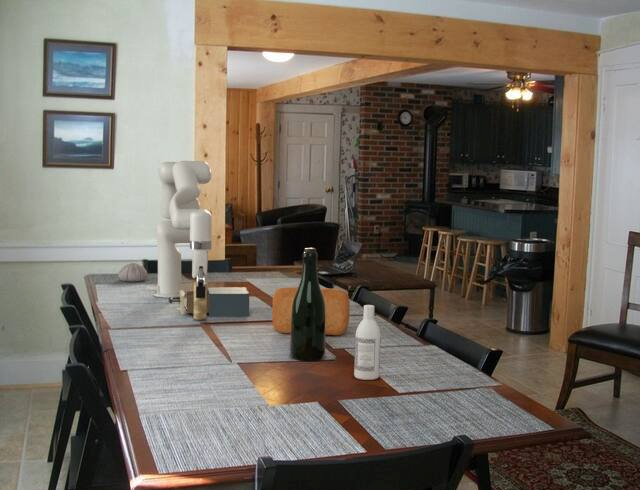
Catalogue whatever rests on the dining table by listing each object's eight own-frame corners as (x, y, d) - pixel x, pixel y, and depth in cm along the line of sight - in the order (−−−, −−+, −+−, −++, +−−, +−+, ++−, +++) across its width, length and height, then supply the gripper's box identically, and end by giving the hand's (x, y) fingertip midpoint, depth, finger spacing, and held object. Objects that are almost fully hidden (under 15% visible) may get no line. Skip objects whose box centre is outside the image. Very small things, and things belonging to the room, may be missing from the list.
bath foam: (365, 372, 225) (367, 302, 222) (384, 377, 221) (387, 306, 218) (348, 377, 220) (351, 305, 217) (368, 382, 215) (370, 309, 213)
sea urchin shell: (143, 283, 366) (143, 265, 365) (113, 282, 366) (113, 264, 365) (151, 278, 379) (151, 262, 378) (122, 277, 379) (122, 261, 378)
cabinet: (209, 316, 295) (209, 293, 294) (207, 309, 309) (207, 287, 308) (249, 316, 299) (249, 293, 298) (245, 308, 313) (245, 287, 312)
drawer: (169, 314, 292) (169, 296, 291) (168, 307, 305) (168, 290, 304) (218, 313, 296) (218, 295, 296) (215, 307, 309) (216, 289, 308)
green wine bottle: (310, 363, 233) (313, 250, 228) (282, 357, 239) (285, 247, 234) (331, 356, 242) (335, 248, 237) (304, 351, 247) (307, 245, 243)
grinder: (193, 319, 285) (194, 283, 283) (193, 317, 289) (193, 281, 288) (206, 319, 286) (207, 283, 284) (206, 316, 291) (206, 281, 289)
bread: (348, 290, 266) (354, 286, 284) (271, 287, 269) (281, 283, 286) (347, 336, 267) (353, 330, 285) (270, 333, 270) (280, 326, 287)
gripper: (188, 243, 291) (188, 292, 294) (190, 248, 275) (190, 300, 278) (209, 243, 293) (209, 292, 296) (212, 248, 277) (212, 300, 280)
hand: (200, 295), depth 287 cm, fingers closed on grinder, 4 cm apart
